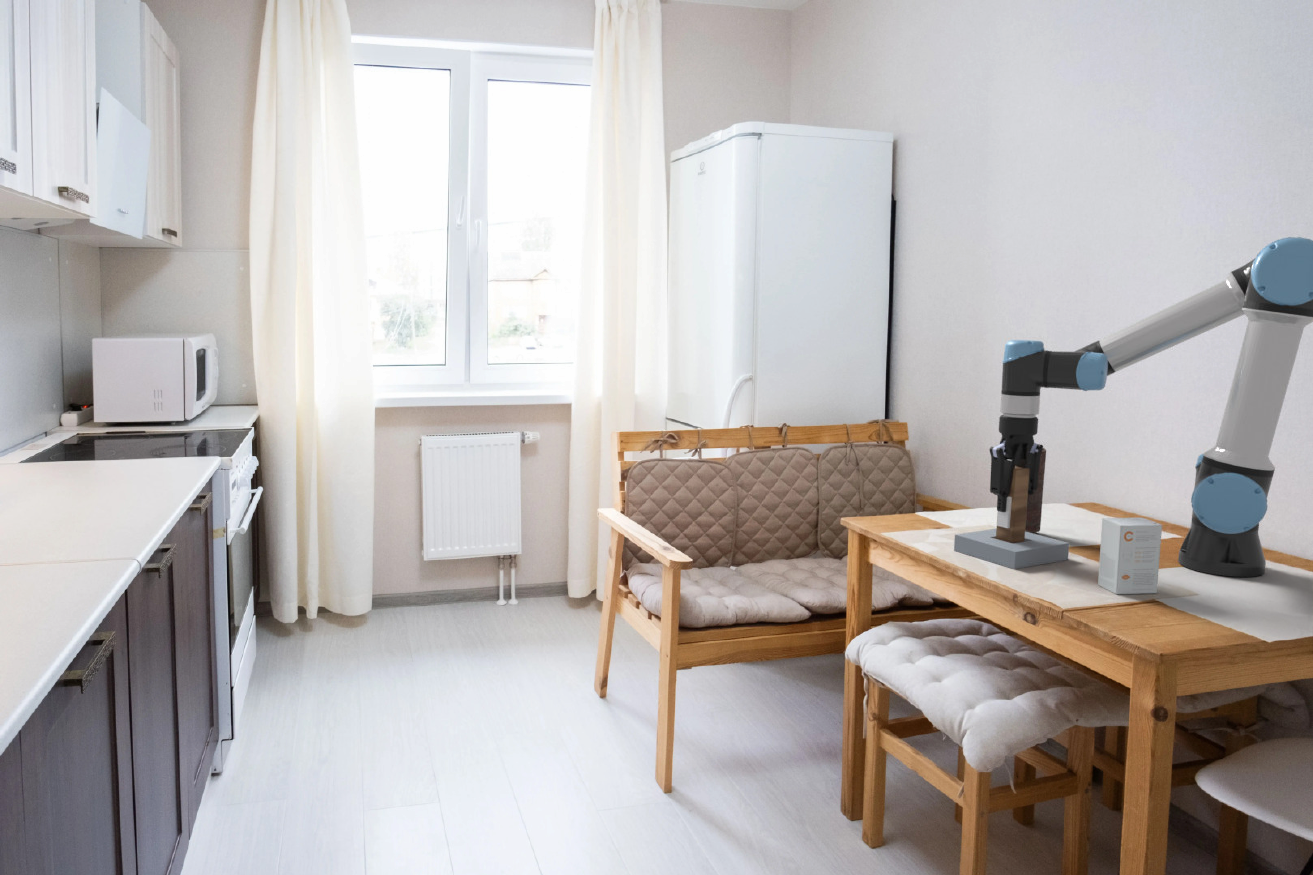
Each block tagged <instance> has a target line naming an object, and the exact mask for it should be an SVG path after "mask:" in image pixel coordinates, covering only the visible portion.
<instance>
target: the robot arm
mask: <svg viewBox="0 0 1313 875" xmlns="http://www.w3.org/2000/svg"><path fill="white" fill-rule="evenodd" d="M1244 315H1245V316H1246V318H1247V320H1248V321H1247V325H1246V330H1245V332H1244V336H1243V340H1242V343H1241V348H1240V351H1239V356H1238V358H1237V363H1236V367H1235V370H1234V375H1233V379H1232V381H1231V386H1230V390H1229V393H1228V397H1227V401H1226V404H1225V408H1224V412H1223V415H1222V416H1223V417H1222V419H1221V423H1220V428H1219V432H1218V435H1217V439H1216V443H1215V445H1214V447H1212V448H1211V449H1209V450H1207V451H1205V452H1203V453H1201V454H1199V455H1198V456H1197V460H1196V464H1195V466H1194V467H1195V479H1194V488H1193V491H1192V494H1191V497H1190V498H1191V499H1190V503H1191V508H1192V512H1191V524H1190V527H1189V530H1188V532H1187V534H1186V535H1185V538H1184V540H1183V542H1182V543H1181V546H1180V548H1179V551H1178V558H1177V559H1178V561H1177V563H1179V565H1181V566H1183V567H1185V568H1188V569H1190V570H1194V571H1196V572H1201V573H1206V574H1211V575H1217V576H1222V577H1223V576H1225V577H1235V578H1236V577H1239V578H1245V577H1246V578H1249V577H1250V578H1251V577H1259V576H1263V575H1264V574H1265V573H1266V566H1267V564H1266V563H1267V562H1266V558H1265V554H1264V550H1263V547H1262V543H1261V538H1260V536H1259V528H1260V522H1261V521H1262V520H1263V519H1264V518H1265V515H1266V513H1267V511H1268V496H1269V492H1270V489H1271V485H1272V480H1273V477H1274V474H1275V470H1276V466H1275V465H1274V463H1273V462H1272V461H1271V460H1270V457H1269V455H1270V452H1271V448H1272V444H1273V441H1274V437H1275V435H1276V434H1275V433H1276V430H1277V427H1278V422H1279V419H1280V416H1281V412H1282V408H1283V405H1284V402H1285V398H1286V394H1287V392H1288V388H1289V387H1288V386H1289V384H1290V380H1291V376H1292V372H1293V368H1294V365H1295V361H1296V359H1297V358H1296V357H1297V354H1298V350H1299V346H1300V344H1301V339H1302V336H1303V334H1304V329H1305V328H1306V326H1309V325H1310V324H1311V323H1313V240H1312V239H1310V238H1306V237H1305V238H1304V237H1301V236H1299V237H1297V236H1296V237H1294V236H1292V237H1291V236H1289V237H1283V238H1280V239H1276V240H1274V241H1272V242H1270V243H1268V244H1267V245H1265V247H1264V248H1262V249H1261V250H1260V252H1259V253H1257V255H1256V257H1255V258H1254V259H1251V260H1250V261H1249V262H1247V263H1246V264H1244V265H1242V266H1240V267H1238V268H1236V269H1234V270H1231V271H1230V272H1228V275H1227V277H1226V279H1225V280H1222V281H1221V282H1219V283H1216V284H1215V285H1213V286H1211V287H1209V288H1206V289H1204V290H1202V291H1199V292H1198V293H1196V294H1194V295H1191V296H1189V297H1187V298H1185V299H1183V300H1180V301H1179V302H1177V303H1175V304H1174V303H1173V305H1170V306H1168V307H1166V308H1164V309H1162V310H1159V311H1158V312H1155V313H1153V314H1151V315H1149V316H1147V317H1145V318H1142V319H1141V320H1139V321H1136V322H1135V323H1132V324H1130V325H1128V326H1126V327H1124V328H1122V329H1118V330H1117V331H1116V332H1113V333H1110V334H1109V335H1106V336H1104V337H1103V338H1101V339H1099V340H1097V341H1094V342H1091V343H1090V344H1088V345H1085V346H1084V347H1081V348H1079V349H1076V350H1075V351H1055V350H1054V351H1053V350H1045V347H1044V342H1043V341H1042V340H1031V339H1030V340H1028V339H1011V340H1009V341H1007V342H1006V344H1004V345H1005V346H1004V353H1003V354H1004V355H1003V360H1002V373H1001V374H1002V376H1001V378H1002V379H1001V392H1000V393H1001V395H1000V396H1001V397H1000V410H999V412H1000V413H1002V414H1001V415H1000V416H999V419H998V432H999V433H1000V434H1001V439H1000V441H999V444H998V445H997V446H990V448H989V454H990V458H991V459H990V483H989V486H990V488H989V492H990V493H991V494H993V495H995V496H997V503H996V511H997V514H998V518H997V517H996V527H997V526H1000V527H1004V528H1010V517H1011V503H1012V497H1008V496H1009V493H1010V488H1011V484H1012V479H1013V469H1015V466H1016V467H1021V468H1029V483H1028V497H1027V508H1028V500H1029V495H1033V494H1034V492H1033V491H1036V490H1037V485H1038V475H1039V464H1040V455H1041V453H1042V450H1043V448H1044V446H1043V444H1040V443H1039V444H1038V443H1036V442H1035V439H1034V436H1036V435H1037V434H1038V429H1039V428H1038V427H1039V418H1038V417H1037V415H1039V414H1040V404H1041V402H1040V401H1041V400H1040V399H1041V388H1045V389H1062V390H1076V391H1083V392H1087V391H1102V390H1103V389H1104V388H1105V387H1106V383H1107V380H1108V379H1107V378H1108V376H1111V375H1113V374H1114V373H1117V372H1119V371H1122V370H1123V369H1125V368H1128V367H1130V366H1132V365H1134V364H1137V363H1139V362H1142V361H1143V360H1146V359H1148V358H1150V357H1153V356H1155V355H1158V354H1159V353H1162V352H1163V351H1166V350H1169V349H1171V348H1173V347H1175V346H1177V345H1179V344H1181V343H1184V342H1186V341H1188V340H1191V339H1192V338H1195V337H1197V336H1200V335H1201V334H1204V333H1206V332H1209V331H1211V330H1212V329H1215V328H1217V327H1219V326H1222V325H1224V324H1226V323H1228V322H1231V321H1233V320H1235V319H1237V318H1240V317H1241V316H1242V317H1243V316H1244ZM1031 483H1032V484H1031ZM1003 489H1004V490H1003ZM1026 512H1027V511H1026Z"/></svg>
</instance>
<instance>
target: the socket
mask: <svg viewBox="0 0 1313 875" xmlns="http://www.w3.org/2000/svg"><path fill="white" fill-rule="evenodd" d="M996 529H997V527H996V528H991V529H983V530H977V531H971V532H964V533H957V534H954V541H953V542H954V544H953V551H954V552H958V553H960V552H961V554H964V555H968V556H971V557H974V558H976V559H979V560H980V559H981V560H984V561H986V562H989V563H990V562H991V563H993V564H997V565H1000V566H1003V567H1006V568H1010V569H1013V570H1017V569H1022V568H1023V569H1024V568H1028V567H1033V566H1034V567H1035V566H1039V565H1044V564H1045V565H1046V564H1050V563H1056V562H1062V561H1067V560H1069V553H1070V550H1069V549H1070V542H1066V541H1063V540H1059V539H1055V538H1051V537H1049V536H1044V535H1041V534H1036V533H1029V532H1025V540H1024V542H1019V543H1013V544H1012V543H1009V542H1005V541H1002V540H998V539H996Z"/></svg>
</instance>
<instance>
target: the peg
mask: <svg viewBox="0 0 1313 875" xmlns="http://www.w3.org/2000/svg"><path fill="white" fill-rule="evenodd" d="M1028 483H1029V468H1021V467H1016V466H1015V469H1013V479H1012V484H1011V488H1010V493H1009V496H1008V497H1012V503H1011V517H1010V528H1004V527H1000V526H997V525H996V528H997V529H996V528H995V529H996V539H998V540H1002V541H1005V542H1009V543H1012V544H1013V543H1019V542H1024V540H1025V526H1026V511H1027V497H1028ZM1003 490H1004V489H1003ZM997 518H998V513H997V517H996V519H997Z"/></svg>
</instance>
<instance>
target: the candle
mask: <svg viewBox="0 0 1313 875" xmlns="http://www.w3.org/2000/svg"><path fill="white" fill-rule="evenodd" d="M1046 457H1047V449H1046V448H1044V447H1043V450H1042V453H1041V455H1040V464H1039V475H1038V485H1037V490H1036V491H1033V492H1034V494H1033V495H1029V500H1028V508H1027V512H1026V526H1025V532H1029V533H1033V534H1036V533H1038V532H1040V531H1041V524H1042V511H1043V510H1042V508H1043V497H1044V496H1043V495H1044V485H1045V484H1044V483H1045V472H1046V471H1045V469H1046V462H1047V461H1046V460H1047V458H1046ZM1031 484H1032V483H1031Z"/></svg>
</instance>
